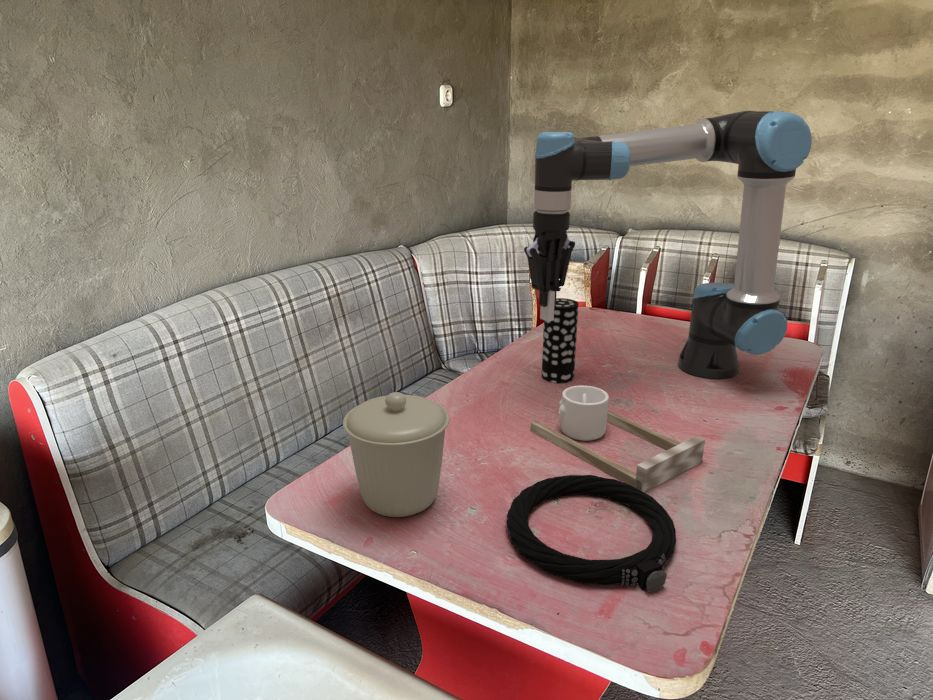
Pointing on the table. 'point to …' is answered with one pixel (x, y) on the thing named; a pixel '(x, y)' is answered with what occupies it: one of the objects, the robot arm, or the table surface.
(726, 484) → the table surface
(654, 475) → the guide channel
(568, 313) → the spotted tube
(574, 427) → the mug
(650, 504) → the cable lock
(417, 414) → the canister
